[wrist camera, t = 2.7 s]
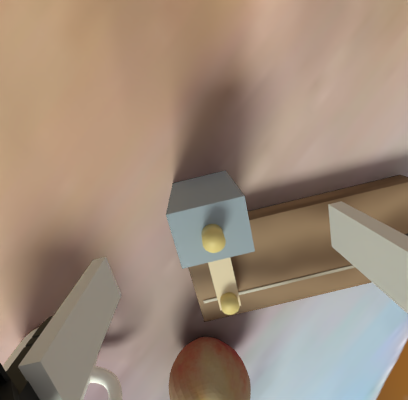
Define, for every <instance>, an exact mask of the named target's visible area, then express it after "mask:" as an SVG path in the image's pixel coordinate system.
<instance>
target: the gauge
mask: <svg viewBox="0 0 408 400" xmlns="http://www.w3.org/2000/svg"><path fill="white" fill-rule="evenodd" d="M166 216H167V220H168V223H169V226H170V230H171V233H172V236H173V239H174V243H175V246H176V249H177V253H178V256H179V259H180V263H181V266H182V269H183V268H187V267H192V266H196V265H200V264H204V263H208V265H209V269H210V273H211V277H212V280H213V284H214V288H215V292H216V296H217V299H218V303H219V307H220V311H221V310H222V311H223V312H224V313H225V314H227V315H232V314H235V313H236V312H237V311H238V310H239V307H240V306H241V302H240V298H239V293H238V289H237V284H236V280H235V276H234V271H233V267H232V262H231V258H230V257H233V256H238V255H242V254H246V253H250V252H254V251H255V249H254V243H253V238H252V233H251V227H250V222H249V217H248V211H247V206H246V201H245V196H244V194H243V193H242V192H241V190H240V189H239V188H238V186H237V185H236V184H235V182H234V181H233V180H232V178H231V177H230V176H229V175H228V173H227V172H226V171H221V172H217V173H213V174H209V175H205V176H201V177H197V178H192V179H188V180H184V181H180V182H176V183H173V185H172V190H171V194H170V199H169V203H168V208H167V213H166Z"/></svg>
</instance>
